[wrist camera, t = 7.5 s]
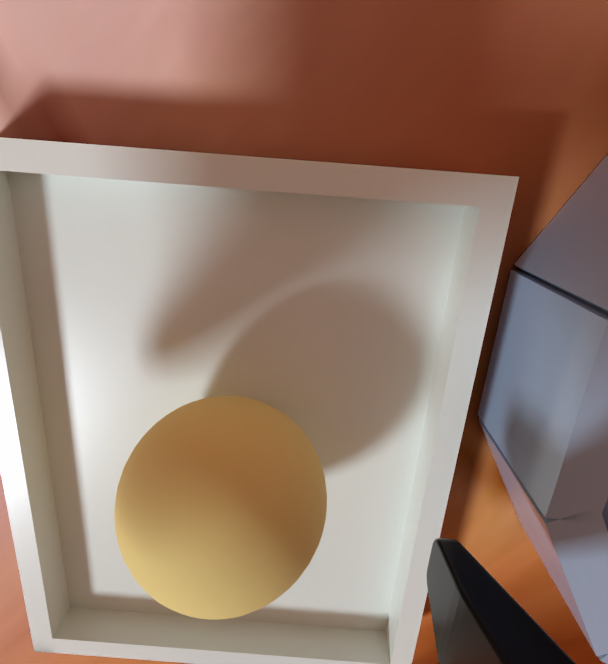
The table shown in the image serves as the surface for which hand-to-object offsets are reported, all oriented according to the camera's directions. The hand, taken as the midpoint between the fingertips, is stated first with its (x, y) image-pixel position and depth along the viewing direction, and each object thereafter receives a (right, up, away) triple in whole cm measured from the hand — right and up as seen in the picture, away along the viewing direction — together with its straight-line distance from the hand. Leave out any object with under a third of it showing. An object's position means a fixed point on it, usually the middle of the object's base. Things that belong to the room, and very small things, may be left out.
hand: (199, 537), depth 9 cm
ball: (0, 0, +1) cm, 1 cm away
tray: (0, +1, +4) cm, 4 cm away
